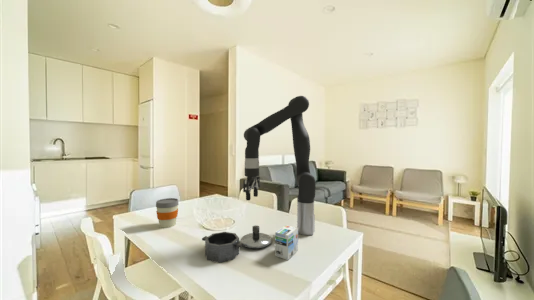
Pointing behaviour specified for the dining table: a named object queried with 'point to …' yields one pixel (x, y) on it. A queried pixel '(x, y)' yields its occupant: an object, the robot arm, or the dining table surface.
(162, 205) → the reusable coffee cup
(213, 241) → the pot
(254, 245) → the lid
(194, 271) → the dining table surface
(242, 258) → the dining table surface
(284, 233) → the light bulb box
